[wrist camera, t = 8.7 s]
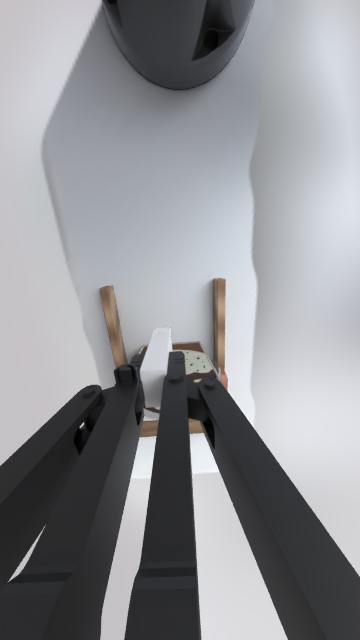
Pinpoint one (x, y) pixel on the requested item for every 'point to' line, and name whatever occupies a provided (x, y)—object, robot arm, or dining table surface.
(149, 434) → the slot rails
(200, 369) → the food container
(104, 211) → the dining table surface
